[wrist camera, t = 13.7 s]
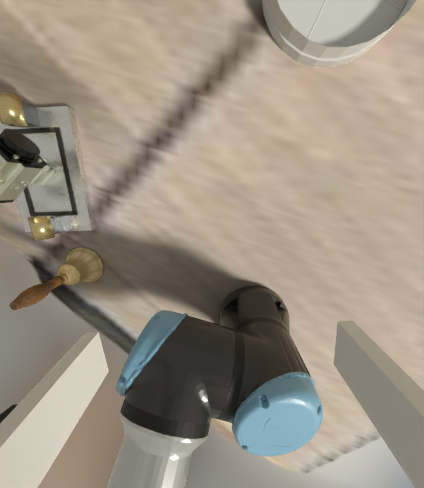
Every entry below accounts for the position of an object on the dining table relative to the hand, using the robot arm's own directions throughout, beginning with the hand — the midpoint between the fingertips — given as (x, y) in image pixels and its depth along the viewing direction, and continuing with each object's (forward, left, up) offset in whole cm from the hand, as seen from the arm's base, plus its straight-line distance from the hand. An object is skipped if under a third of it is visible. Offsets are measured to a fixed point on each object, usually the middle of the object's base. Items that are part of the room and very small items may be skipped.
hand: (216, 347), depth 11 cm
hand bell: (-7, +30, -32) cm, 44 cm away
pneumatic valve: (+12, +32, -30) cm, 46 cm away
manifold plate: (+12, +33, -31) cm, 47 cm away
